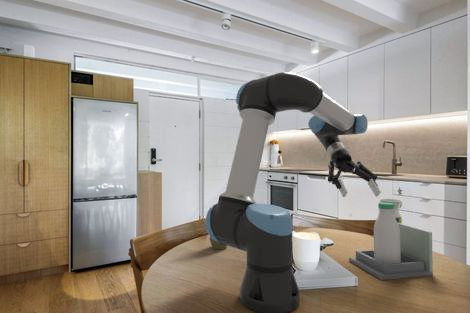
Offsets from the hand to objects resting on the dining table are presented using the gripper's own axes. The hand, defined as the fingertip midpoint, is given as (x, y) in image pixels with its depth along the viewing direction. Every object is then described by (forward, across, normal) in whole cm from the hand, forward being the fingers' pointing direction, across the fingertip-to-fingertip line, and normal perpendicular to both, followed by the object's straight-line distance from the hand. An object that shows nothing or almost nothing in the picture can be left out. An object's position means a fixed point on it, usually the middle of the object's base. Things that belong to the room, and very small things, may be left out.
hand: (362, 194), depth 100 cm
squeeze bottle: (+1, +50, -32) cm, 59 cm away
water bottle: (+10, -19, -22) cm, 31 cm away
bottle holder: (+23, -2, -9) cm, 25 cm away
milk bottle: (+23, -2, -8) cm, 24 cm away
